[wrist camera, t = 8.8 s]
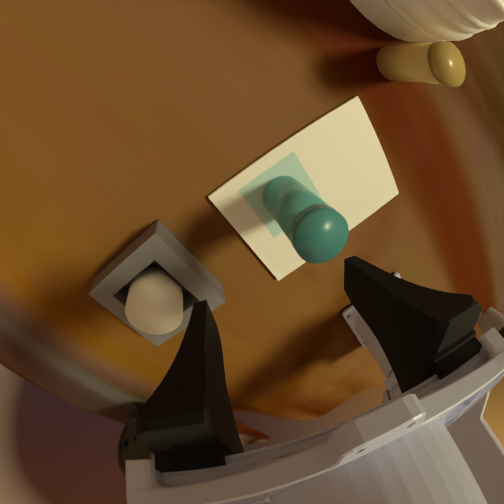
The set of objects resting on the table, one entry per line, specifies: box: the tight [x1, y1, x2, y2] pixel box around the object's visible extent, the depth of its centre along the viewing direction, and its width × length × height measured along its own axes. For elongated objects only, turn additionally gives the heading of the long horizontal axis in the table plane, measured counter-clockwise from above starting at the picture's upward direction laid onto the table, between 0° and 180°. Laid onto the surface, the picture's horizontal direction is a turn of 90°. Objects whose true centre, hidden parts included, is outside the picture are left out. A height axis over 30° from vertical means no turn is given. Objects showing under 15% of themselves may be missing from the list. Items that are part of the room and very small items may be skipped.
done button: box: [125, 267, 183, 335], centre depth 21 cm, size 4×4×3 cm
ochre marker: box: [376, 41, 465, 87], centre depth 14 cm, size 3×3×7 cm
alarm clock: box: [118, 404, 155, 477], centre depth 26 cm, size 11×5×16 cm, turn 131°
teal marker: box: [263, 176, 349, 263], centre depth 18 cm, size 3×3×7 cm
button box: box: [88, 219, 226, 346], centre depth 22 cm, size 8×8×2 cm
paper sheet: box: [208, 96, 399, 281], centre depth 22 cm, size 10×14×1 cm
